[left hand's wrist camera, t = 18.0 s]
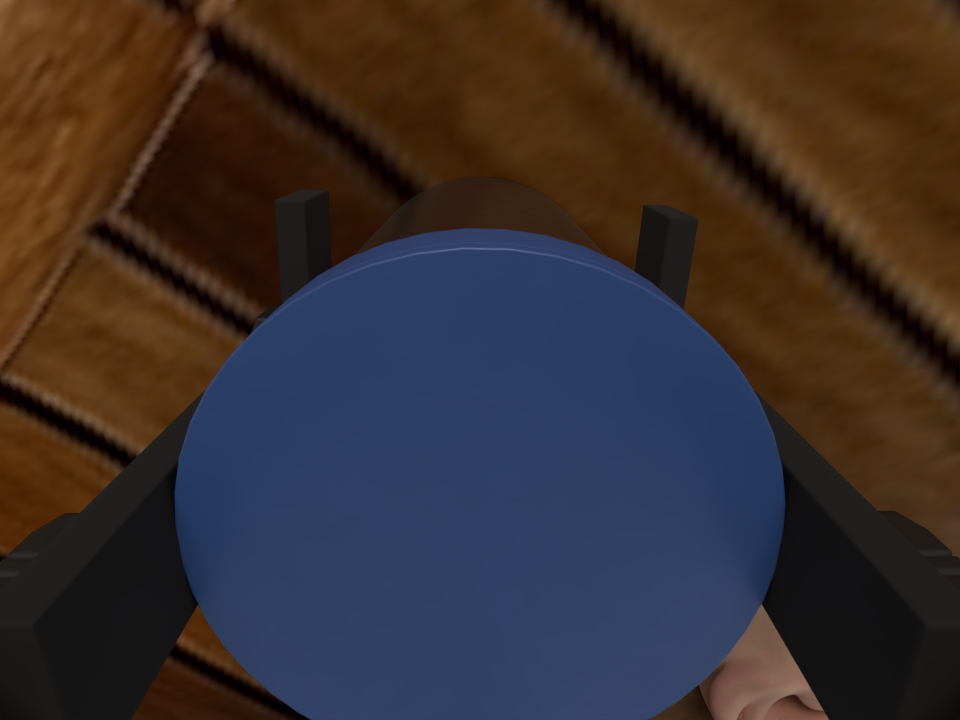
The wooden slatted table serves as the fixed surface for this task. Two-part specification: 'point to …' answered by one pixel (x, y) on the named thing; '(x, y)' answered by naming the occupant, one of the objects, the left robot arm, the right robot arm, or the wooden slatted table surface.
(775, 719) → the anatomical model
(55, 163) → the wooden slatted table surface
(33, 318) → the wooden slatted table surface
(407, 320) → the lid
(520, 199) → the jar
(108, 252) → the wooden slatted table surface
